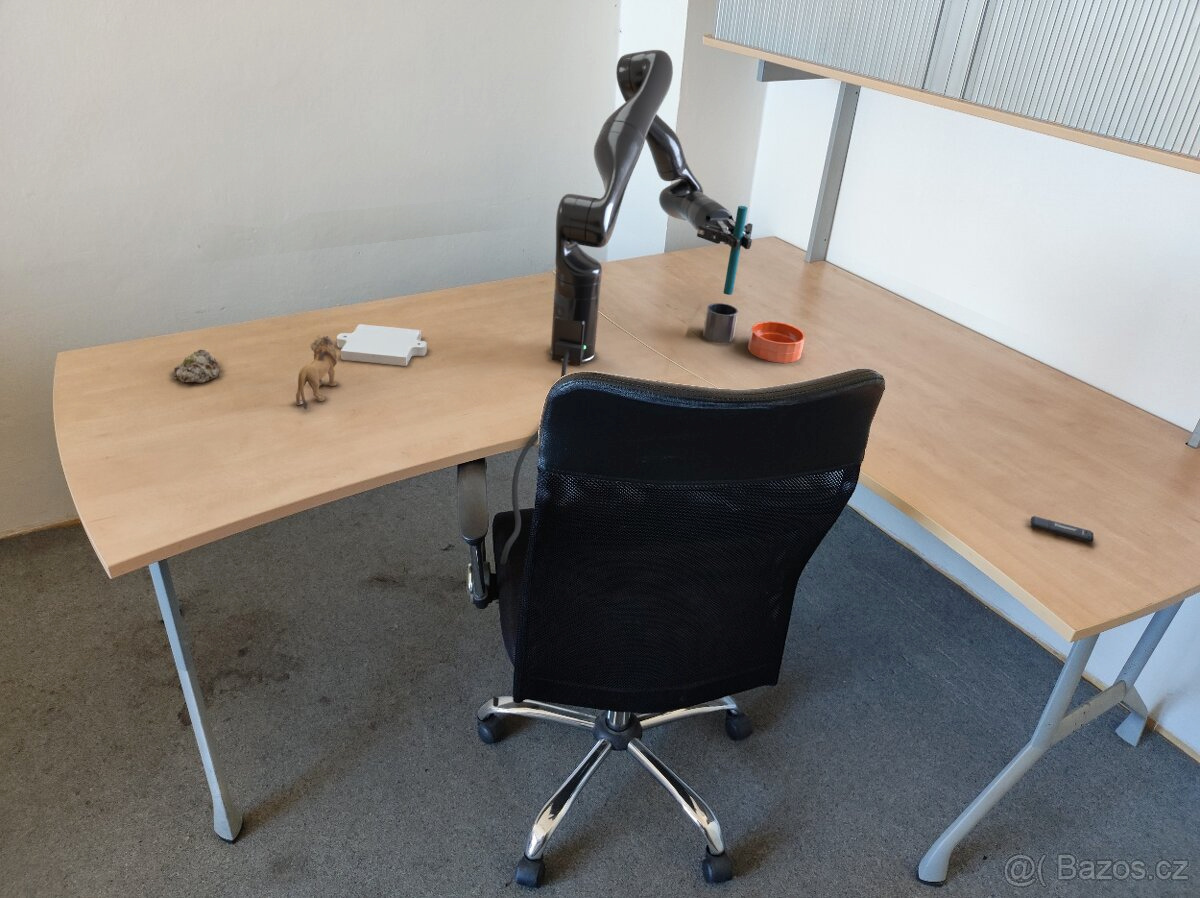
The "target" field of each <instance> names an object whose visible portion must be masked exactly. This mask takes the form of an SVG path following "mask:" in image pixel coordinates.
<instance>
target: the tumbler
mask: <svg viewBox="0 0 1200 898" xmlns="http://www.w3.org/2000/svg"><path fill="white" fill-rule="evenodd" d="M738 314H739V310H738V308H737V307H735V306H733V305H731V304H727V303H722V302H715V303H710V304H708V305H707V307H706V311H705V318H704V325H703V330H702V336H703V337H704V339H706V340H707V341H710V342H712V343H713V342H714V343H720V344H726V343H730V342H732V341H733V339H734V338H735V333H736V332H735V331H736V325H737V320H738Z"/></svg>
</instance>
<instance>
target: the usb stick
mask: <svg viewBox="0 0 1200 898" xmlns="http://www.w3.org/2000/svg"><path fill="white" fill-rule="evenodd" d="M1030 526H1031V528H1032V529H1035V530H1039V531H1043V532H1046V533H1050V534H1055V535H1058V536H1061V537H1064V538H1065V537H1066V538H1070V539H1074V540H1077V541H1081V542H1085V543H1088V544H1090V543H1093V542H1094V539H1095V538H1094V537H1095V536H1094V532H1093V531H1092V530H1089V529H1085V528H1081V527H1079V526H1074V525H1071V524H1066V523H1063V522H1059V521H1055V520H1051V519H1047V518H1044V517H1040V516H1036V515H1034V516H1031V518H1030Z"/></svg>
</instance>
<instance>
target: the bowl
mask: <svg viewBox="0 0 1200 898" xmlns="http://www.w3.org/2000/svg"><path fill="white" fill-rule="evenodd" d="M805 339H806V334H805V333H804V332H803V331H802V330H801V329H800V328H798V327H796V326H794V325H791V324H789V323H786V322H780V321H772V320H771V321H770V320H767V321H759V322H756V323H754V324H753V325H752V326H751V330H750V333H749V339H748V344H747V349H748V351H749V352H750V353H751V354H752V355H753V356H755V357H757V358H758V359H760V360H764V361H768V362H772V363H779V364H780V363H781V364H786V363H794V362H796V361H798V360H799V359H801V356H802V351H803V348H804V344H805Z"/></svg>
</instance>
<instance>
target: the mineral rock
mask: <svg viewBox="0 0 1200 898" xmlns="http://www.w3.org/2000/svg"><path fill="white" fill-rule="evenodd" d="M219 374H220V366H219V364H218V361H217V359H216V358H215V357H213V355H211V352H209V351H206V349H198V350H196V351H194V352H193V353H192V354H190V355H188V356H187V357H185V358H184V360H183V361H182V363H181V364H178V365H176V366H175V367H173V375H174V379H175V380H179V381H181V382H182V383H197V384H202V383H205V382H208V381H210V380H212V379H215V378H217V377H218V376H219Z"/></svg>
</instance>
